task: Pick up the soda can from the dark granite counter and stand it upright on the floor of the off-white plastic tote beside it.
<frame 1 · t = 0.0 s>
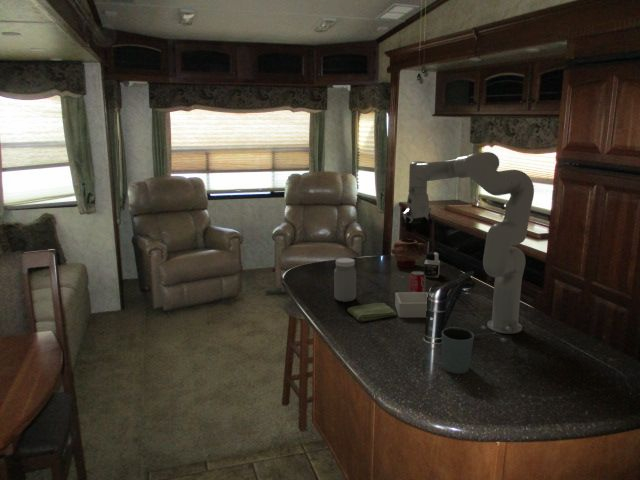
hand: (416, 229, 231), 31 cm above the kitchen island, tool pointing down, fingers open, 9 cm apart
decorative planter: (408, 265, 290), on the kitchen island
medicine bottle: (431, 275, 271), on the kitchen island
tote: (413, 311, 222), on the kitchen island
soda can: (416, 298, 238), on the kitchen island
jar: (345, 299, 238), on the kitchen island
grey teal cup: (456, 368, 172), on the kitchen island
washcloth: (371, 315, 220), on the kitchen island
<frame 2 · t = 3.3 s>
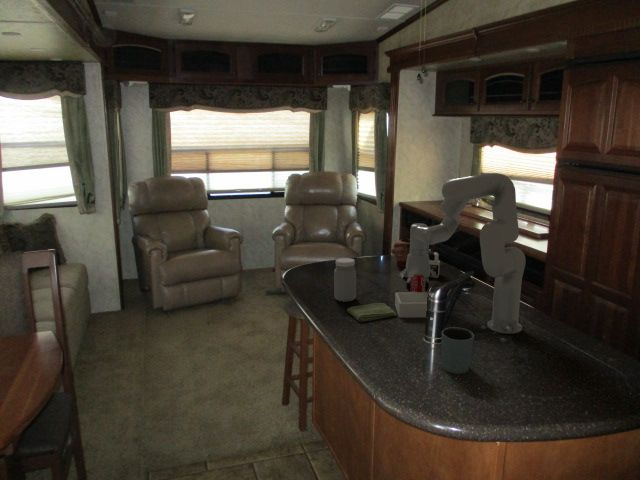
hand: (417, 290, 237), 4 cm above the kitchen island, tool pointing down, fingers closed on soda can, 6 cm apart
soda can: (416, 298, 238), on the kitchen island, touching gripper
everything else where it was.
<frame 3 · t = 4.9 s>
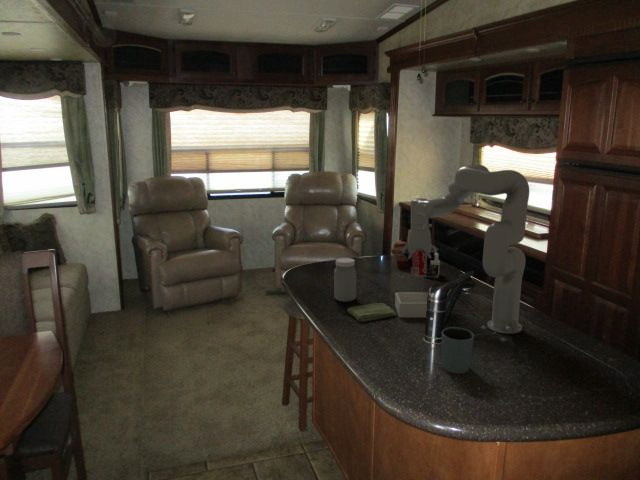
hand: (419, 266, 234), 15 cm above the kitchen island, tool pointing down, fingers closed on soda can, 6 cm apart
soda can: (418, 275, 235), point 11 cm above the kitchen island, touching gripper
everything else where it was.
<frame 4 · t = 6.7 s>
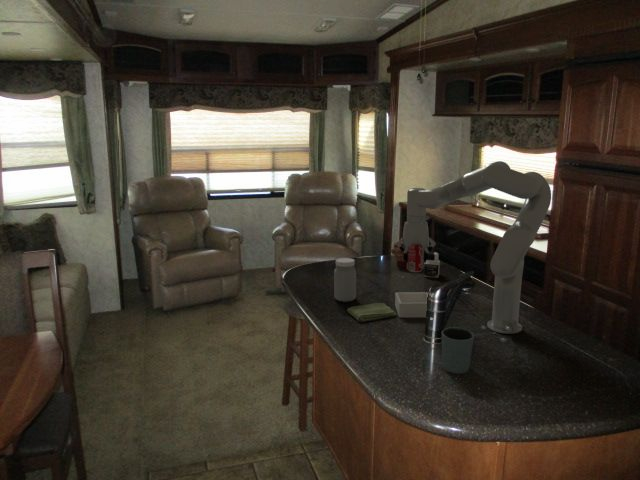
hand: (415, 261, 217), 21 cm above the kitchen island, tool pointing down, fingers closed on soda can, 6 cm apart
soda can: (414, 271, 218), point 17 cm above the kitchen island, touching gripper
everything else where it was.
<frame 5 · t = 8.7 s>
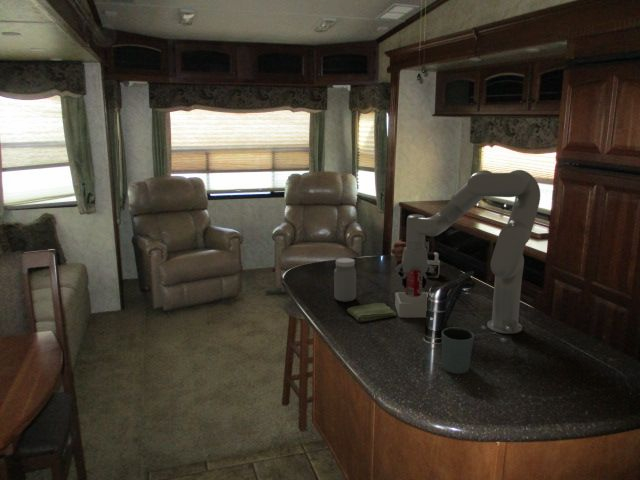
hand: (413, 286, 220), 11 cm above the kitchen island, tool pointing down, fingers closed on soda can, 6 cm apart
soda can: (413, 295, 221), point 7 cm above the kitchen island, touching gripper
everything else where it was.
when the fingers open (7 cm above the kitchen island, at t = 10.5 s): soda can drops 2 cm, resting on tote.
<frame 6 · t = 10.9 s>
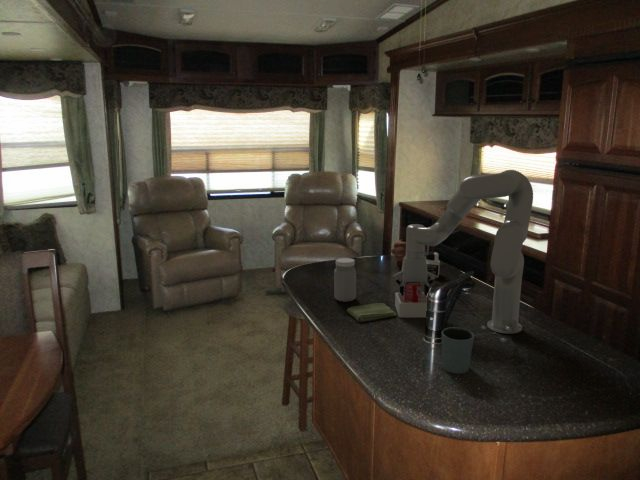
hand: (413, 294, 220), 7 cm above the kitchen island, tool pointing down, fingers open, 9 cm apart
soda can: (412, 309, 222), point 1 cm above the kitchen island, touching tote
everything else where it was.
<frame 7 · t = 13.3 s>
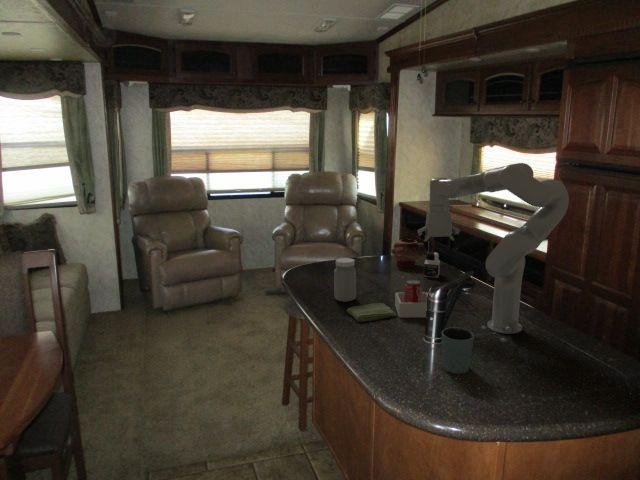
hand: (438, 249, 218), 26 cm above the kitchen island, tool pointing down, fingers open, 9 cm apart
nothing on the kitchen island moved.
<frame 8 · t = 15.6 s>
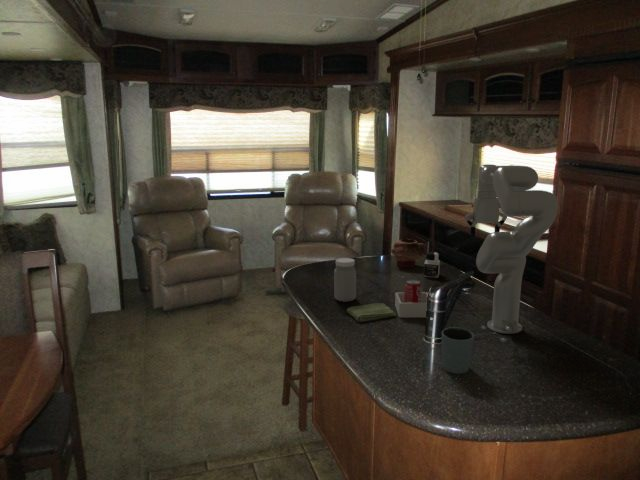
hand: (484, 235, 222), 30 cm above the kitchen island, tool pointing down, fingers open, 9 cm apart
nothing on the kitchen island moved.
at the end: soda can inside the target area on the tote (0.4 cm from its centre), point 0.8 cm above the tote's base; soda can tilted 0°; the gripper is holding nothing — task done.
